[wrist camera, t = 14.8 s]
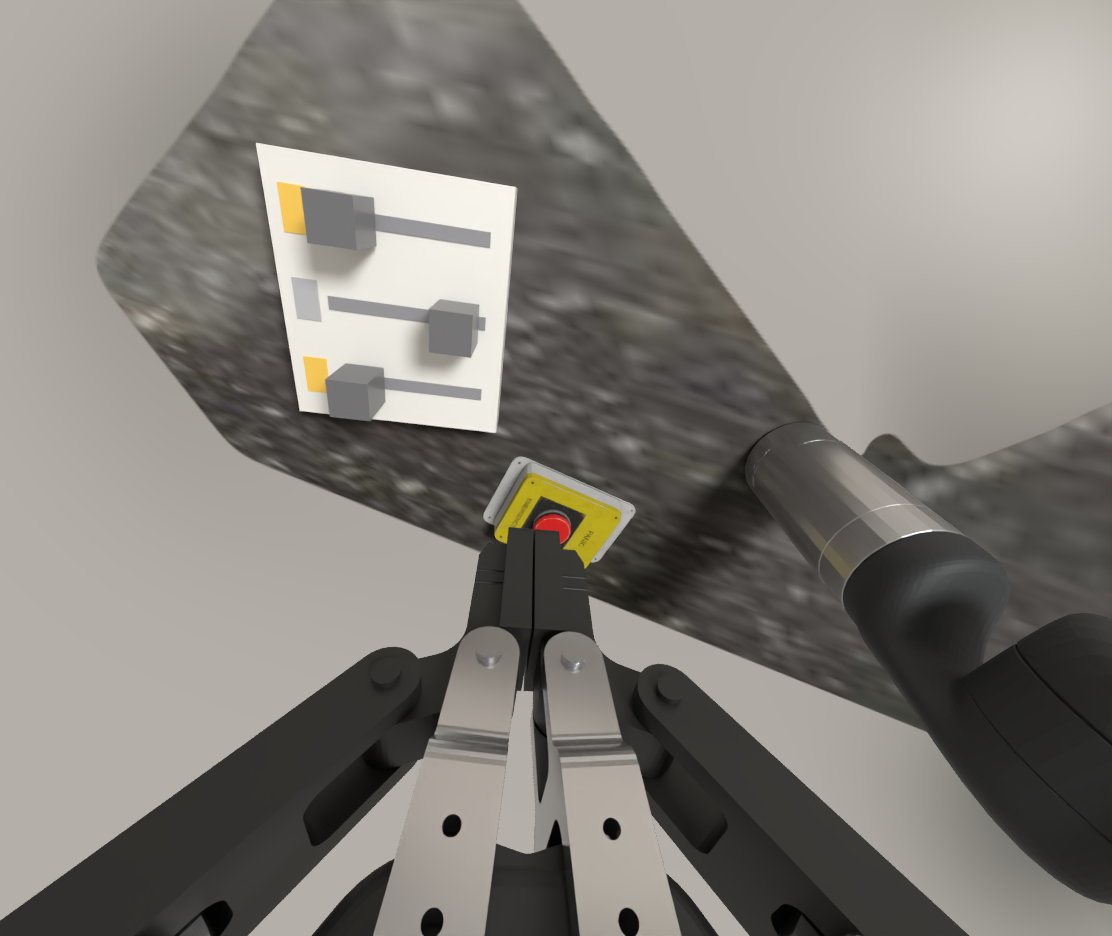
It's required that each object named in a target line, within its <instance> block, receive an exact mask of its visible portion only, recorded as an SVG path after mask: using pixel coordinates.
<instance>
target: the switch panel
mask: <svg viewBox="0 0 1112 936" xmlns="http://www.w3.org/2000/svg"><path fill="white" fill-rule="evenodd" d="M256 147H257V153H258V159H259V165H260V171H261V177H262V183H263V189H264V195H265V202H266V208H267V214H268V220H269V226H270V232H271V238H272V244H273V250H274V256H275V263H276V269H277V275H278V281H279V287H280V293H281V299H282V305H283V311H284V317H285V324H286V330H287V336H288V342H289V348H290V354H291V360H292V366H293V372H294V378H295V385H296V391H297V397H298V403H299V409H300V411H306V412H315V413H323V414H329V407H328V399H327V391H326V383H325V379H326V378H327V377H329V376H330V375H331V374H332V373H334V372H335V371H336V370H338V369H339V368H340V367H341V366H343V365H344V364H345V363H348V364H356V365H365V366H373V367H381V368H384V382H385V400H386V402H385V403H384V405H383V406H382V407H381V408H380V410H379V411H378V412H377V413H376V414H375V416H374V417H373V418H372V419H377V420H386V421H395V422H404V423H413V424H422V425H431V426H439V427H448V428H457V429H466V430H475V431H484V432H493V433H496V429H497V424H498V417H499V405H500V393H501V381H502V369H503V357H504V345H505V333H506V321H507V309H508V297H509V285H510V273H511V261H512V249H513V237H514V225H515V213H516V201H517V188H516V187H512V186H506V185H500V184H494V183H488V182H482V181H476V180H471V179H465V178H459V177H453V176H447V175H441V174H435V173H430V172H424V171H418V170H412V169H406V168H400V167H394V166H389V165H383V164H377V163H371V162H365V161H359V160H353V159H347V158H342V157H336V156H330V155H324V154H318V153H312V152H306V151H301V150H295V149H289V148H283V147H277V146H271V145H265V144H260V143H256ZM300 187H304V188H313V189H322V190H330V191H337V192H343V193H349V194H355V195H361V196H367V197H373V198H374V208H375V226H376V243H377V246H375V247H371V248H366V249H361V250H351V249H344V248H338V247H331V246H324V245H318V244H311V243H307V235H306V228H305V220H304V212H303V204H302V196H301V189H300ZM439 299H443V300H450V301H457V302H464V303H471V304H478V305H480V306H479V325H478V344H477V346H476V348H475V350H474V352H473V354H472V357H471V358H468V357H460V356H453V355H445V354H437V353H429V308H430V307H432V306H433V305H434V304H435V303H436V302H437V301H438V300H439Z"/></svg>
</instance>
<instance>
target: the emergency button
mask: <svg viewBox="0 0 1112 936" xmlns="http://www.w3.org/2000/svg"><path fill="white" fill-rule="evenodd" d="M634 514H635V508H634V506H633V505H632V504H630V503H628V502H626V501H623V500H621V499H619V498H617V497H614V496H612V495H610V494H607V493H605V492H603V491H601V490H598V489H596V488H594V487H592V486H589V485H587V484H585V483H582V482H580V481H578V480H576V479H573V478H571V477H569V476H567V475H564V474H562V473H560V472H557V471H555V470H553V469H551V468H548V467H546V466H544V465H542V464H539V463H537V462H535V461H532V460H530V459H528V458H525V457H516V458H515V459H514V460H513V461H512V462H511V464H510V466H509V468H508V469H507V471H506V473H505V475H504V477H503V479H502V480H501V482H500V484H499V486H498V488H497V490H496V491H495V493H494V495H493V497H492V499H491V500H490V502H489V504H488V506H487V508H486V510H485V511H484V515H483V518H484V519H485V521H486V522H488V523H490V524H492V525H495V530H494V534H495V537H496V539H497V540H499V541H501V542H504V543H506V544H507V537H508V528H509V527H516V528H527V529H533V535H534V530H535V529H539V530H551V531H559V534H560V548H561V549H568V550H576V552H577V553H578V555H579V556H580V558H581V559H582V561H583V562H584V568H586V567H587V566H588V564H589V563H590V562H597V561H599V560H600V559H601V558H602V556H603V555H604V554H605V552H606V551H607V550H608V548H609V547H610V546H611V544H612V543H613V542H614V540H615V539H616V538H617V537H618V535H619V534H620V533H621V531H622V530H623V529H624V527H625V526H626V525H627V523H628V522H629V521H630V519H631V518H632V517H633V515H634Z"/></svg>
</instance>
